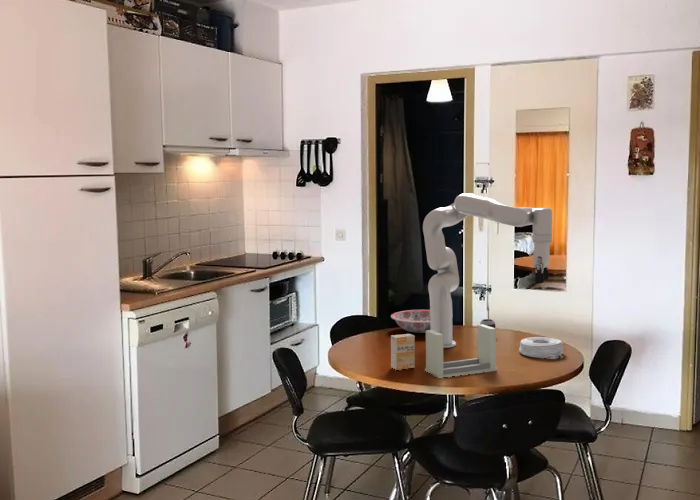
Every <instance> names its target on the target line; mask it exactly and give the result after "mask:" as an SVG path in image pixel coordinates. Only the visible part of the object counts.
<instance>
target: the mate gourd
mask: <svg viewBox="0 0 700 500" xmlns="http://www.w3.org/2000/svg"><path fill="white" fill-rule="evenodd" d="M486 305H487V318H483V319H481V320H480V323H479V325H480V324H484V325H487V326H490V327H493V328H496V326H497V325H496V322H495V320H493V319H490V306H489V305H490V304H489V302H487V303H486Z"/></svg>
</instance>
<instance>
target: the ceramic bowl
mask: <svg viewBox="0 0 700 500" xmlns="http://www.w3.org/2000/svg"><path fill="white" fill-rule="evenodd" d="M453 316H454V315H452V318H453ZM390 318H391V319H392V320H394V321H395V322H396V324H397V325H398V326H399V327H400V328H401V329H402V330H404V331H407V332H410V333H416V334H417V333H418V334H426V330H430V309H410V310H409V309H407V310H402V311H401V310H400V311H397V312H393V313H391V315H390Z"/></svg>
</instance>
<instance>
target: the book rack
mask: <svg viewBox="0 0 700 500" xmlns="http://www.w3.org/2000/svg"><path fill="white" fill-rule="evenodd" d="M476 326H477V327H476V328H477V329H476V330H477V333H476V334H477V342H476V343H477V345H476V346H477V347H476V348H477V357H475V358H469V359H461V360H454V361H453V360H452V361H444V348H443V334H440V333H438V332H435V331H433V330H426V333H425V368H424V372H425V371H426V372H425V373H427V372H428V373H427V374H429V373H431V374H433V375H435V376H436V377H435V376H434V377H435V378H437V377H438V378H437V379H439V378H441V379H444V378H443V377H448V378H453V377H452V376H455V377H461V376H460V375H462V376H469V375H468V374H470V375H476V373H477V374H483V372H484V373H490V372H496V371H498V367H497V365H496V364H497V363H496V362H497V359H496V358H497V357H496V356H497V353H496V352H497V350H496V349H497V348H496V347H497V346H496V345H497V343H496V342H497V338H496V336H497V335H496V334H497V333H496V331H497V328H496V327H495V328H493V327H490V326H487V325H484V324H480V323H479V324H477V325H476ZM431 374H430V375H431ZM433 375H432V376H433Z"/></svg>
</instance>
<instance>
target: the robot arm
mask: <svg viewBox="0 0 700 500" xmlns="http://www.w3.org/2000/svg"><path fill="white" fill-rule="evenodd" d="M469 216H470V217H471V216H472V217H476V218H481V219H485V220H489V221H492V222H496V223H499V224H502V225H507V226H510V227H511V226H512V227H515V228H516V227H517V228H519V227H520V228H522V227H526V226H530V225H532V243H534V244H533V259H532V267H533V268H535V279H534V282H535V283H536V284H543V283H544V281H546V280H549V265H550V252H551V251H550V248H551V247H550V244H553V210H552V208H550V207H527V206H524V207H522V206H521V207H514V206H509V205H506V204H502V203H499V202H498V201H496V200H495V199H493V198H490V197H483V196H479V195H477V194H475V193H472V192H469V193H468V192H467V193H461V194H459V195H456V197H455V199H454V202H453V203H451V204H450V205H448V206H445V207H443V206H442V207H438V208H435V209H433V210H431V211H430V212H428V214H426V216H425V217H424V220H423V223H422V232H423V236H424V246H425V252H426V261H427V264H428V267H429V268H430V269H431V270H433V271H437V273H436V274H434V275H432V276H431V278H430V279H429V281H428V286H427V289H428V290H427V291H428V294H429V310H430V330H433V331H435V332H438V333H440V334H443V349H447V348H448V349H449V348H454V347H456V345H457V342H456V341H455V340H453V317H452V316H453V300H452V295H451V293H452V292H455V291H456V290H457V289H458V287H459V285H460V276H459V274H460V273H459V269H458V263H457V262H458V261H457V256H456V253H455V252H454V250H453V249H452V248H450V247H447V246H446V242H445V235H444V233H443V230H442V229H443V228H447V227H453V226H454V225H457V224H459V223H460V222H462V221H463V220H465V219H467V218H468V217H469Z"/></svg>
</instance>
